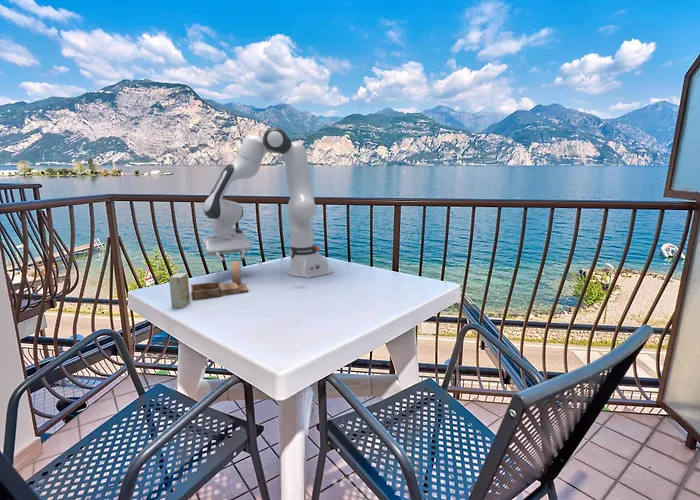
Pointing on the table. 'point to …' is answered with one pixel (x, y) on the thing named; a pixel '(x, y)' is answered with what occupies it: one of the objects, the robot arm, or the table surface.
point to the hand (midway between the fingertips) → (232, 260)
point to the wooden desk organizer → (216, 290)
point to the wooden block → (236, 272)
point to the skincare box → (179, 290)
